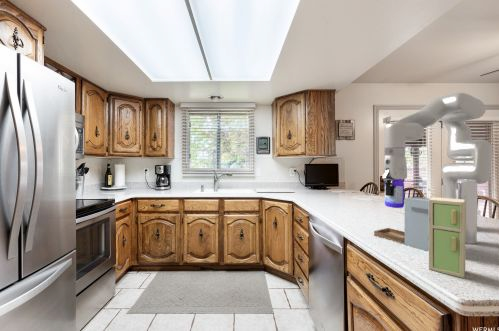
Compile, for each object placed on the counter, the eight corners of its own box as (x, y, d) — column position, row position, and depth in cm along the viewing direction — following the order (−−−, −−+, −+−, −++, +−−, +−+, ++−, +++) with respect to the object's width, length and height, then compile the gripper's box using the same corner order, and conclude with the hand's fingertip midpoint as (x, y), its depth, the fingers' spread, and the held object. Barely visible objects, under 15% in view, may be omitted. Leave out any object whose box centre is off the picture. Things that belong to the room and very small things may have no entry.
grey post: (455, 237, 99) (456, 178, 99) (477, 241, 94) (477, 179, 94) (454, 241, 94) (454, 179, 94) (476, 245, 90) (477, 180, 90)
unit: (415, 241, 95) (416, 196, 95) (452, 250, 84) (453, 200, 84) (403, 244, 90) (403, 198, 90) (440, 255, 80) (441, 203, 80)
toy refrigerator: (427, 270, 69) (427, 199, 69) (431, 262, 74) (432, 196, 74) (463, 279, 63) (464, 202, 63) (465, 271, 69) (466, 199, 68)
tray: (387, 232, 107) (387, 227, 107) (414, 239, 97) (414, 234, 97) (374, 235, 102) (374, 231, 102) (401, 243, 92) (401, 238, 92)
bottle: (381, 205, 102) (382, 165, 102) (392, 205, 104) (392, 165, 103) (395, 209, 95) (396, 166, 95) (407, 208, 97) (407, 166, 96)
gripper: (392, 151, 92) (391, 197, 92) (415, 152, 100) (414, 194, 100) (373, 152, 98) (373, 195, 98) (396, 153, 107) (396, 193, 107)
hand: (394, 194), depth 99 cm, fingers closed on bottle, 5 cm apart
